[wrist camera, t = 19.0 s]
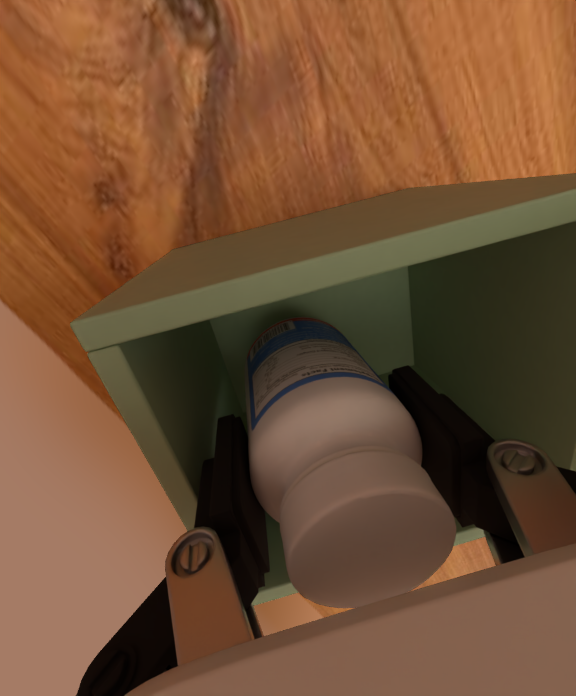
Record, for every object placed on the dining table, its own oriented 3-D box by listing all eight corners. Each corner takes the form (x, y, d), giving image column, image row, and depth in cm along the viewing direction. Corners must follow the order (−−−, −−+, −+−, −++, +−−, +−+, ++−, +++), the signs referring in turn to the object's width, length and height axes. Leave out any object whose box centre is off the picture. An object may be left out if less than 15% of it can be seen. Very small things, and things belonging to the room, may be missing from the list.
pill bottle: (338, 411, 18) (440, 620, 9) (239, 408, 17) (242, 641, 8) (361, 317, 15) (526, 468, 7) (249, 306, 14) (268, 468, 6)
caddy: (235, 417, 24) (233, 612, 13) (172, 249, 19) (66, 323, 7) (419, 366, 25) (579, 509, 13) (409, 187, 19) (667, 164, 8)
